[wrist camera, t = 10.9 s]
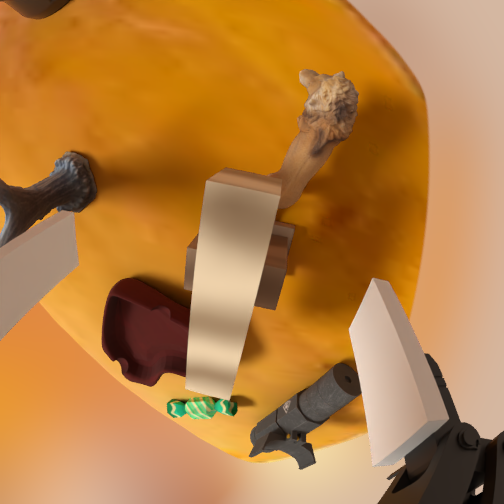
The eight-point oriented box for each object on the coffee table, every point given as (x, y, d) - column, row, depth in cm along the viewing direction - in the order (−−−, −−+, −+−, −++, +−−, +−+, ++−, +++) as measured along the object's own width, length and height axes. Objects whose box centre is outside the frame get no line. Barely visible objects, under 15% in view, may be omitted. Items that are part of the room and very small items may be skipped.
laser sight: (368, 373, 37) (380, 427, 28) (284, 434, 46) (281, 477, 37) (319, 350, 36) (323, 411, 27) (240, 419, 45) (231, 464, 36)
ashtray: (183, 251, 32) (166, 272, 27) (239, 353, 37) (233, 380, 33) (87, 287, 36) (68, 305, 32) (143, 367, 42) (132, 388, 38)
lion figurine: (301, 75, 22) (307, 50, 14) (353, 98, 23) (382, 86, 14) (246, 209, 29) (228, 244, 21) (294, 229, 29) (296, 271, 21)
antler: (50, 169, 29) (-107, 245, 6) (85, 136, 27) (-110, 200, 4) (86, 243, 33) (-51, 363, 10) (125, 219, 31) (-43, 360, 8)
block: (225, 167, 19) (206, 180, 15) (282, 179, 19) (280, 196, 15) (199, 351, 27) (185, 389, 22) (238, 361, 27) (229, 400, 22)
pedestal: (208, 206, 29) (182, 234, 22) (294, 225, 29) (296, 259, 21) (202, 257, 32) (177, 296, 24) (281, 275, 31) (278, 320, 24)
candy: (227, 393, 40) (229, 418, 38) (236, 394, 43) (238, 417, 41) (166, 396, 44) (167, 418, 41) (177, 398, 46) (178, 418, 44)
